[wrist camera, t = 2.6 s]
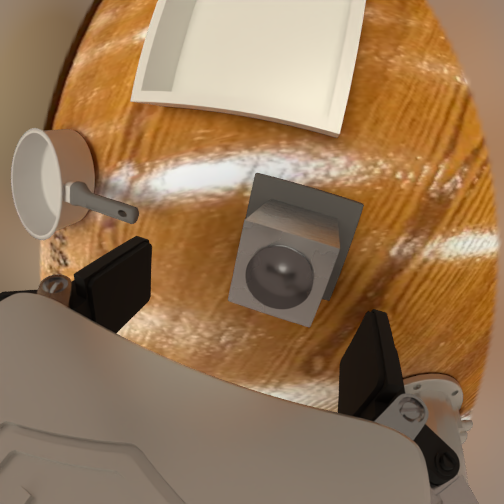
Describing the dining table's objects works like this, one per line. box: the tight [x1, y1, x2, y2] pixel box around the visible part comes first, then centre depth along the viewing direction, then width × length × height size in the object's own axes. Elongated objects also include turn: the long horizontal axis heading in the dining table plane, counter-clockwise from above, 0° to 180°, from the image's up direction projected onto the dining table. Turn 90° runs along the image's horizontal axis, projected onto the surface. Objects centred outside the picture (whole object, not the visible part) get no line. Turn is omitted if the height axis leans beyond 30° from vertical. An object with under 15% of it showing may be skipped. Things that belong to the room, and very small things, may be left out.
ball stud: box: [246, 173, 364, 301], centre depth 19 cm, size 8×8×4 cm
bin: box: [131, 0, 366, 138], centre depth 14 cm, size 14×14×4 cm
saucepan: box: [11, 128, 139, 240], centre depth 22 cm, size 12×20×6 cm, turn 78°
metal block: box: [228, 199, 340, 327], centre depth 18 cm, size 5×5×7 cm
